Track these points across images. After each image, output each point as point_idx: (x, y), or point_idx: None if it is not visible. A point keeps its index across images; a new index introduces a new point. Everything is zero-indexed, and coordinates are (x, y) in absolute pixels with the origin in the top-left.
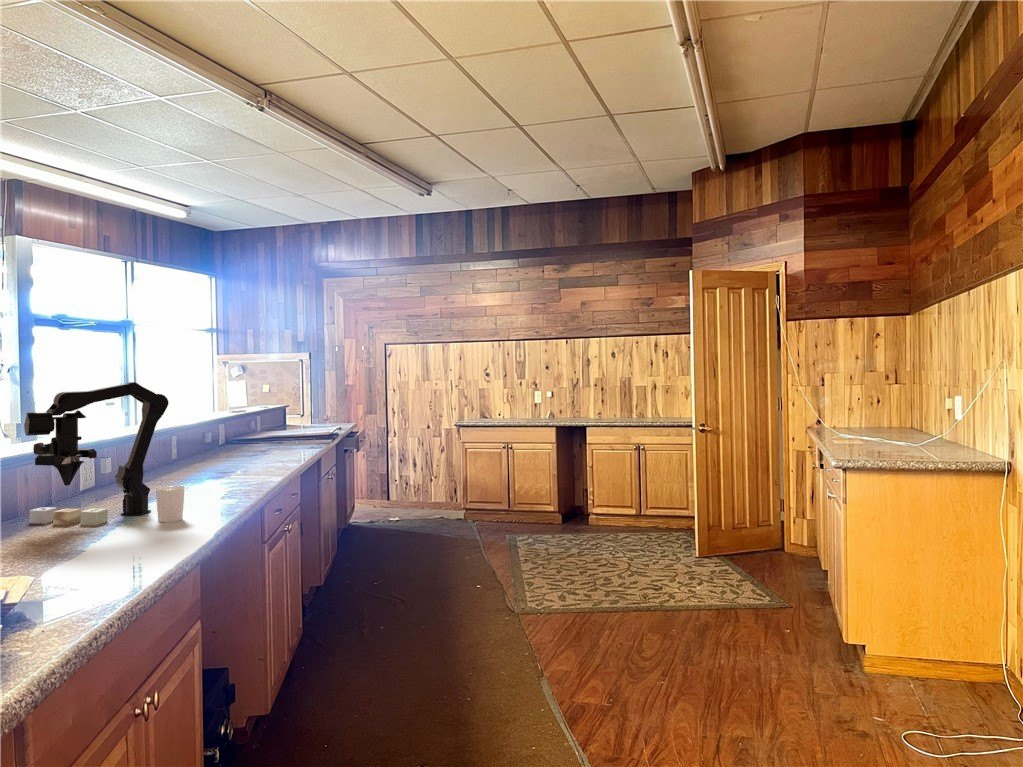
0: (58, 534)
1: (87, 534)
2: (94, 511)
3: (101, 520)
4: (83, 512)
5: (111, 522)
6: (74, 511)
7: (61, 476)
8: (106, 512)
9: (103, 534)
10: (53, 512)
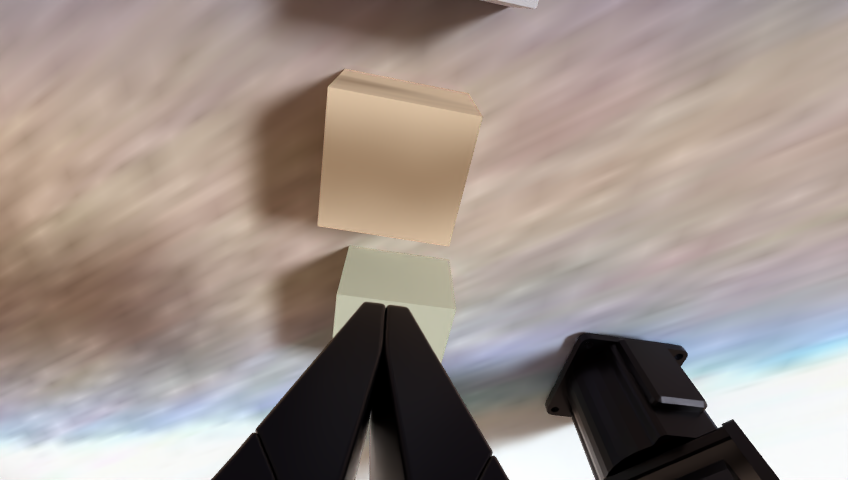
0: (94, 252)
1: (141, 369)
2: None
3: None
4: (335, 309)
5: None
6: (381, 232)
7: (279, 411)
8: None
9: (161, 418)
10: (328, 89)
